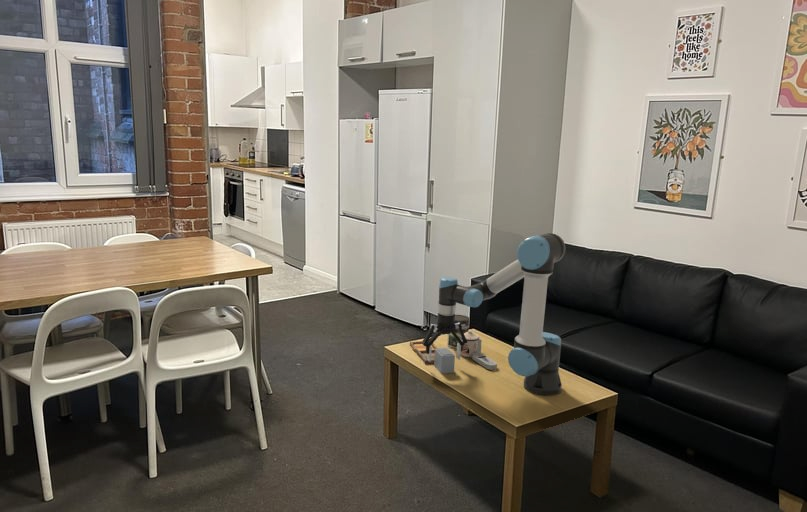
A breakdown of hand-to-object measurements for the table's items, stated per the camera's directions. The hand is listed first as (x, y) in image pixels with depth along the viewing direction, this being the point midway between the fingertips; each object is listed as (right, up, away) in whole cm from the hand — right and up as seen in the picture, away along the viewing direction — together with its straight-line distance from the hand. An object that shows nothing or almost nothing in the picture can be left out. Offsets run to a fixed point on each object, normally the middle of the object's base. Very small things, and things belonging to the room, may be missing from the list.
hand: (443, 359), depth 247 cm
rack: (-6, 0, +18) cm, 19 cm away
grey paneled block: (0, -4, +1) cm, 4 cm away
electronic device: (+19, -4, +8) cm, 21 cm away
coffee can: (+9, +1, +31) cm, 32 cm away
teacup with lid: (+14, -1, +17) cm, 22 cm away
